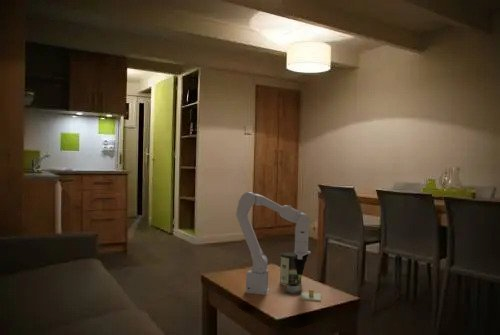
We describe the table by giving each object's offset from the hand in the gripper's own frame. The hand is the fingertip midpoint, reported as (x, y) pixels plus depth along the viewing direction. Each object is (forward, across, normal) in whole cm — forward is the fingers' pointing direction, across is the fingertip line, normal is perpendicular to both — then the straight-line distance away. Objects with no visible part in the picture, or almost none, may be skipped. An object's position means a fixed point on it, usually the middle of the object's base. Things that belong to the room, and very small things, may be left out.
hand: (300, 272), depth 166 cm
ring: (+9, +1, +3) cm, 10 cm away
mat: (+9, +1, +3) cm, 10 cm away
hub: (+9, -4, -5) cm, 12 cm away
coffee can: (+10, +14, +5) cm, 18 cm away
